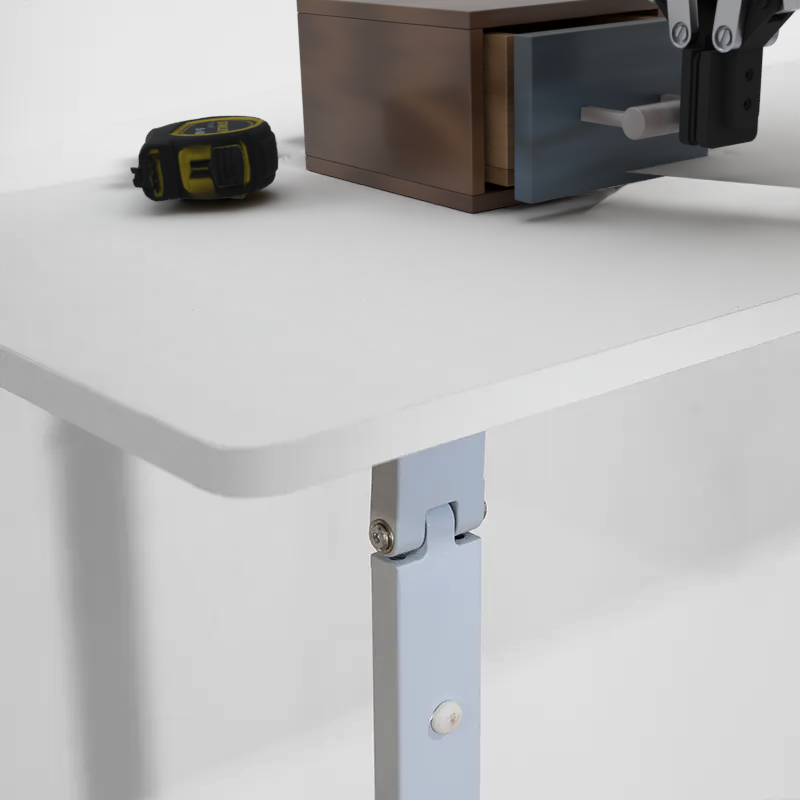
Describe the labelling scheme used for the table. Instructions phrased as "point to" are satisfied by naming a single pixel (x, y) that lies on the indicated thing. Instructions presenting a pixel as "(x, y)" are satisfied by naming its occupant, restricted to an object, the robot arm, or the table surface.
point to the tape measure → (207, 159)
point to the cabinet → (412, 90)
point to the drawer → (580, 104)
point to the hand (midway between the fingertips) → (717, 141)
